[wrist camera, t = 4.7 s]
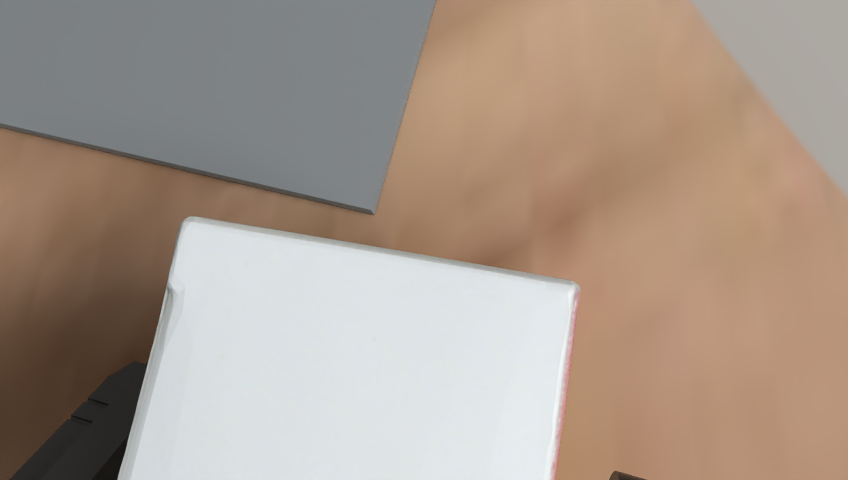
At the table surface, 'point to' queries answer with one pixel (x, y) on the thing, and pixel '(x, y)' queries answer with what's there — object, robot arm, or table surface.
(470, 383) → the small box
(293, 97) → the mat
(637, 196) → the table surface
